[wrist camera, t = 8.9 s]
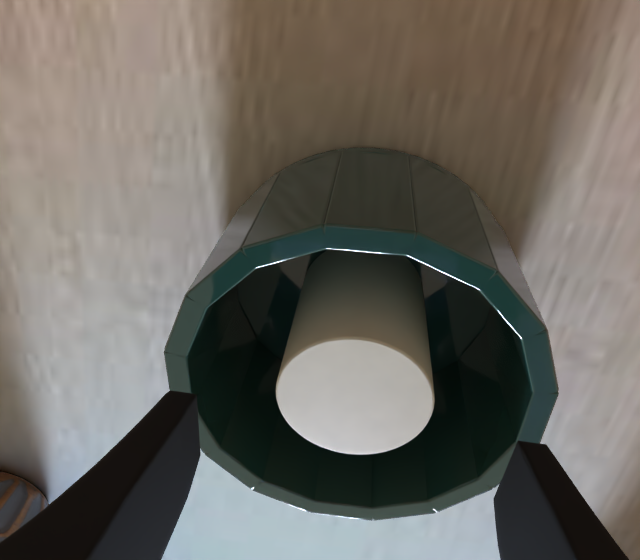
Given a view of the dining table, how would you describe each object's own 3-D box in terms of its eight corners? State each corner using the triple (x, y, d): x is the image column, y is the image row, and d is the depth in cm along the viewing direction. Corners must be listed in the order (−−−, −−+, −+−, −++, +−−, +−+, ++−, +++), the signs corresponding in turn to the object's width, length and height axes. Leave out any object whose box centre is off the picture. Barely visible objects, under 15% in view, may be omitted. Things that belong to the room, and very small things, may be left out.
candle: (446, 273, 16) (467, 380, 12) (386, 357, 18) (385, 474, 14) (333, 219, 16) (314, 311, 12) (284, 313, 18) (252, 420, 14)
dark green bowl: (573, 232, 16) (651, 344, 11) (414, 423, 21) (421, 556, 16) (288, 88, 15) (241, 146, 10) (190, 328, 19) (127, 442, 15)
